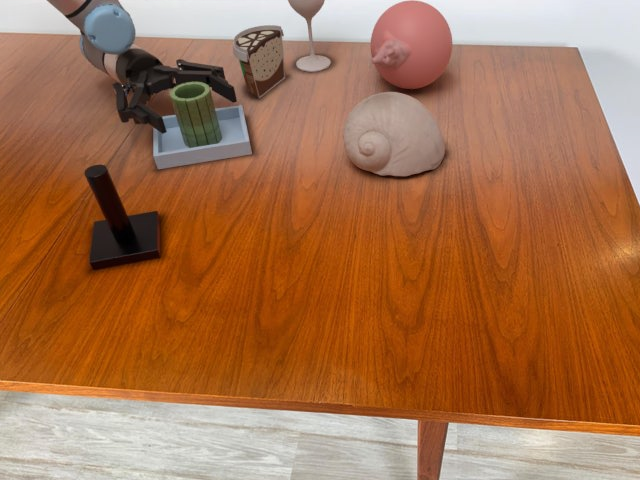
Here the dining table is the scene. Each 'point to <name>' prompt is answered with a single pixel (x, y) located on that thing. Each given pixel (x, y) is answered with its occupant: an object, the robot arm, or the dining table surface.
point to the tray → (176, 153)
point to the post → (119, 226)
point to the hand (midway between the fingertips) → (199, 109)
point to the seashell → (393, 135)
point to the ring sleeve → (196, 114)
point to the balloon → (411, 44)
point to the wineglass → (310, 35)
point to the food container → (260, 58)
